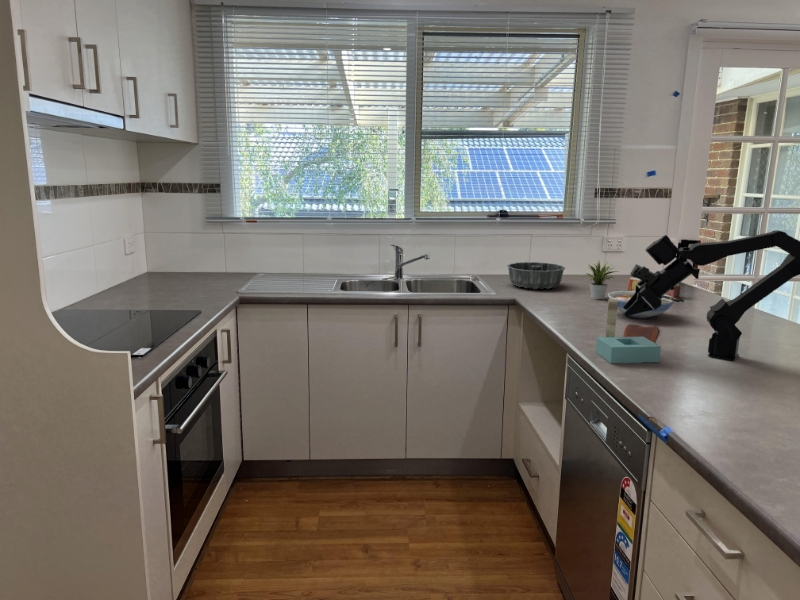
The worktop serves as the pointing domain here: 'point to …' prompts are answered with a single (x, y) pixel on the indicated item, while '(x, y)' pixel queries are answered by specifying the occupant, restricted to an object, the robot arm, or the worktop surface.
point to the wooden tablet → (641, 332)
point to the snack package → (672, 293)
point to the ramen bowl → (624, 298)
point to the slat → (611, 318)
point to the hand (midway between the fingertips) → (624, 311)
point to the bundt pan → (535, 274)
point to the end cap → (628, 349)
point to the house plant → (599, 281)
